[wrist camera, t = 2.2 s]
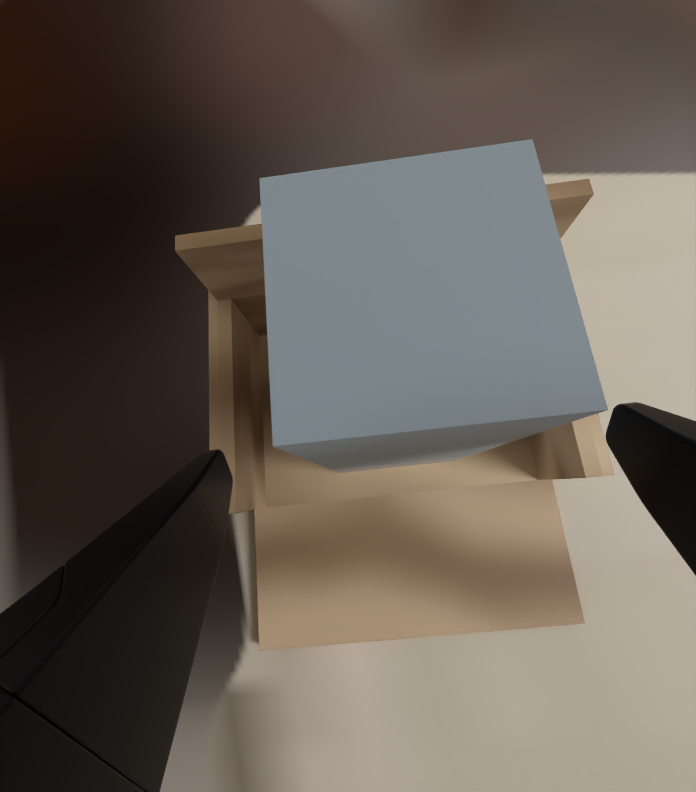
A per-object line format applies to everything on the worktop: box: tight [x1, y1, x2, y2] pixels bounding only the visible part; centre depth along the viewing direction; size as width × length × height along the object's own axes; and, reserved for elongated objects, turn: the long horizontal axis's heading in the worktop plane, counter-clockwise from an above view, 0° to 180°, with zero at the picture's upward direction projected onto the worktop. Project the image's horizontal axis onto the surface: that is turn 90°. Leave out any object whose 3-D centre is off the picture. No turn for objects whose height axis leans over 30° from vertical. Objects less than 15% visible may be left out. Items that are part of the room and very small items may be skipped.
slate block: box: [260, 140, 608, 473], centre depth 13 cm, size 6×6×12 cm
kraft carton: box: [175, 179, 614, 651], centre depth 14 cm, size 16×15×8 cm
